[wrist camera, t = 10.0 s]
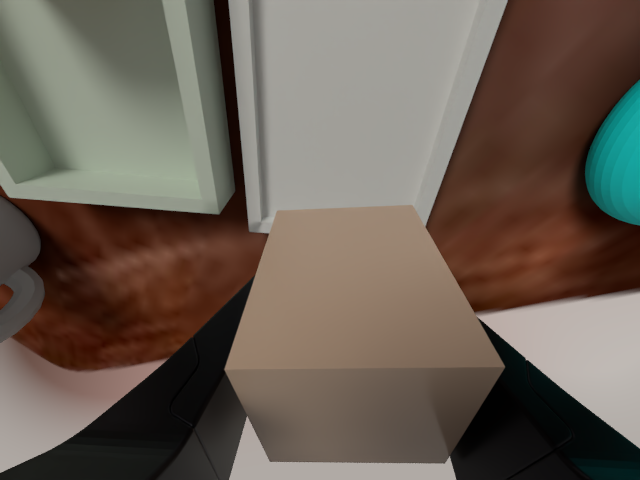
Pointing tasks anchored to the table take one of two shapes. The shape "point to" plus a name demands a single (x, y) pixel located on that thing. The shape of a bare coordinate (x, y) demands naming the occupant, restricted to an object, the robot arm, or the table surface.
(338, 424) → the tan rectangular block
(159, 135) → the bin
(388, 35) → the tray
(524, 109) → the table surface
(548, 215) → the table surface
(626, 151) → the donuts
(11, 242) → the cup
